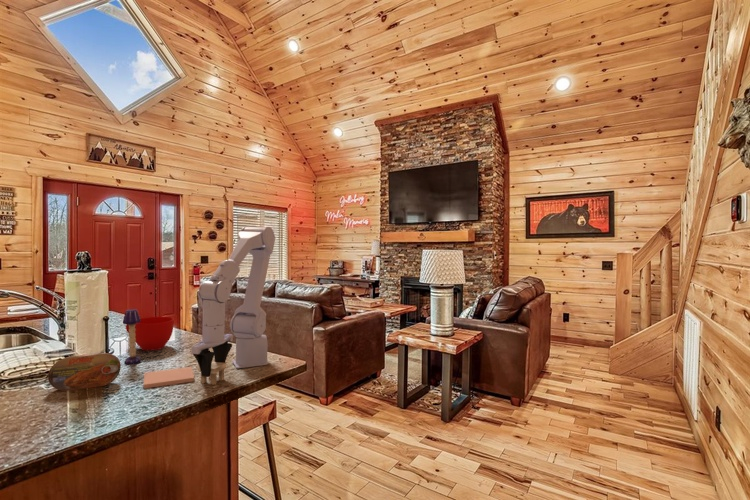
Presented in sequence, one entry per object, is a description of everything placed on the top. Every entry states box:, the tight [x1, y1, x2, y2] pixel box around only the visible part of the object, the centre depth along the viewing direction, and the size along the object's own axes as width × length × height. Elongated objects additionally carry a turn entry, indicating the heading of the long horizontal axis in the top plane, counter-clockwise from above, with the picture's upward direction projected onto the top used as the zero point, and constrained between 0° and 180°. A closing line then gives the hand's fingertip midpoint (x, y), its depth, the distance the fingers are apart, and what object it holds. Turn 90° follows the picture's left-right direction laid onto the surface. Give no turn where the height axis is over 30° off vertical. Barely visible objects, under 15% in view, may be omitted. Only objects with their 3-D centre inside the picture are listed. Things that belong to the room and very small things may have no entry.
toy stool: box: [198, 360, 227, 385], centre depth 104 cm, size 5×5×4 cm
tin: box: [47, 352, 122, 392], centre depth 98 cm, size 15×3×8 cm, turn 117°
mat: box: [142, 366, 195, 389], centre depth 105 cm, size 12×10×1 cm
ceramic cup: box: [125, 316, 175, 351], centre depth 134 cm, size 13×17×10 cm
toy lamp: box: [122, 308, 142, 366], centre depth 118 cm, size 5×5×17 cm
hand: (212, 372), depth 104 cm, fingers closed on toy stool, 5 cm apart
